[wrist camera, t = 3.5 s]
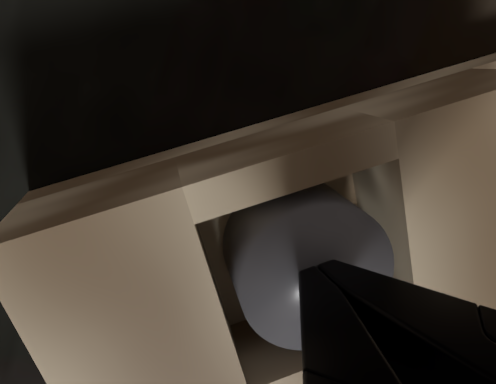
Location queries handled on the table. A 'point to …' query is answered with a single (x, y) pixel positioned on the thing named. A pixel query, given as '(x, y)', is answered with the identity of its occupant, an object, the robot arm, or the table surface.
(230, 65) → the table surface
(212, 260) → the button board
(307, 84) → the table surface
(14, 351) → the table surface
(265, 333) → the button
